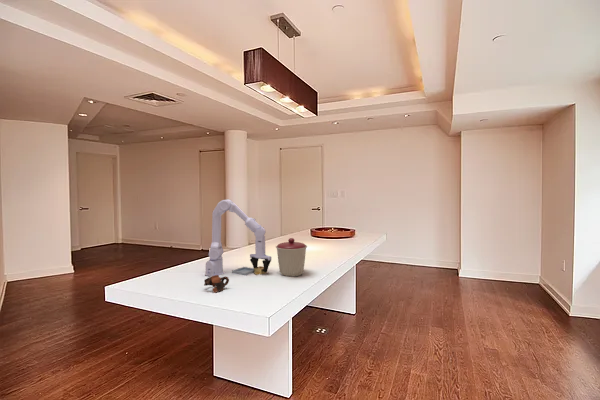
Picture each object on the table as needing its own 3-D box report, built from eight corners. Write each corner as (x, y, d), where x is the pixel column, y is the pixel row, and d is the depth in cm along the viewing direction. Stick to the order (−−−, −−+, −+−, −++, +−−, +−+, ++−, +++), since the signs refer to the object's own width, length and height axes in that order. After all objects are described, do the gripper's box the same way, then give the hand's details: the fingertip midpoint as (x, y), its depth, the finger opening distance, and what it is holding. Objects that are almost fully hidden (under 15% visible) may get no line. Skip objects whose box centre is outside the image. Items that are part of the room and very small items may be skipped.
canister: (308, 270, 196) (308, 235, 195) (306, 279, 178) (305, 240, 177) (278, 270, 197) (278, 235, 196) (273, 278, 179) (272, 240, 178)
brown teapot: (207, 295, 154) (202, 279, 156) (207, 298, 162) (202, 282, 165) (232, 285, 158) (226, 270, 161) (231, 289, 167) (225, 274, 169)
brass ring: (259, 275, 184) (259, 269, 184) (252, 273, 187) (252, 268, 187) (266, 272, 190) (266, 267, 190) (260, 271, 192) (259, 266, 192)
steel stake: (261, 276, 184) (261, 270, 184) (251, 274, 188) (251, 268, 188) (269, 273, 190) (269, 267, 190) (259, 271, 194) (259, 266, 194)
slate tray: (245, 276, 184) (245, 273, 184) (231, 273, 190) (231, 270, 190) (257, 272, 193) (257, 269, 193) (244, 269, 199) (244, 266, 199)
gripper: (274, 248, 188) (274, 271, 188) (255, 245, 196) (255, 268, 196) (266, 250, 182) (267, 274, 182) (247, 247, 190) (247, 270, 190)
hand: (260, 271), depth 189 cm, fingers open, 7 cm apart
